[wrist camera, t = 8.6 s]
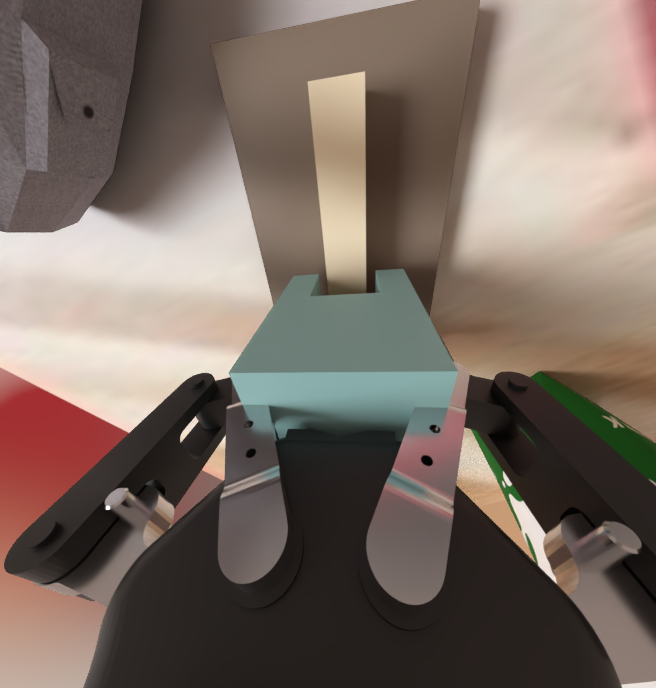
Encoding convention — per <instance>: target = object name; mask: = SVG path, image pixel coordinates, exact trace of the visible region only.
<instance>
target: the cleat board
mask: <svg viewBox="0 0 656 688" xmlns="http://www.w3.org/2000/svg"><path fill="white" fill-rule="evenodd" d="M479 4H480V0H415V1H411V2H406V3H401V4H396V5H392V6H387V7H382V8H378V9H373V10H368V11H364V12H359V13H354V14H349V15H345V16H340V17H335V18H331V19H326V20H321V21H317V22H312V23H307V24H302V25H298V26H293V27H288V28H284V29H279V30H274V31H270V32H265V33H260V34H255V35H251V36H246V37H241V38H237V39H232V40H227V41H223V42H218V43H213V44H210V45H211V49H212V53H213V58H214V62H215V66H216V70H217V74H218V78H219V82H220V86H221V91H222V95H223V99H224V103H225V107H226V111H227V115H228V119H229V123H230V128H231V132H232V136H233V140H234V144H235V148H236V152H237V156H238V161H239V165H240V169H241V173H242V177H243V181H244V185H245V189H246V193H247V198H248V202H249V206H250V210H251V214H252V218H253V222H254V226H255V230H256V235H257V239H258V243H259V247H260V251H261V255H262V259H263V263H264V268H265V272H266V276H267V280H268V284H269V288H270V292H271V296H272V300H273V305H274V304H275V303H276V302H277V300H278V299H279V297H280V296H281V294H282V293H283V291H284V290H285V288H286V287H287V285H288V284H289V282H290V281H291V279H292V278H293V276H298V275H313V274H319V279H320V287H321V296H325V295H344V294H364V293H375V276H376V270H390V269H404V271H405V273H406V275H407V276H408V278H409V280H410V282H411V284H412V286H413V288H414V289H415V291H416V293H417V295H418V297H419V299H420V301H421V303H422V304H423V306H424V308H425V310H426V312H427V314H428V316H430V309H431V303H432V297H433V291H434V284H435V278H436V272H437V266H438V259H439V253H440V247H441V241H442V235H443V228H444V222H445V216H446V210H447V203H448V197H449V191H450V185H451V179H452V172H453V166H454V160H455V154H456V147H457V141H458V135H459V129H460V122H461V116H462V110H463V104H464V98H465V91H466V85H467V79H468V73H469V66H470V60H471V54H472V48H473V42H474V35H475V29H476V23H477V17H478V10H479Z"/></svg>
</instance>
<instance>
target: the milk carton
mask: <svg viewBox="0 0 656 688" xmlns="http://www.w3.org/2000/svg"><path fill="white" fill-rule="evenodd" d="M531 379H533V380H534V381H536V382H537V383H538V384H539V385H540V386H542V387H543V388H544V389H545V390H546V391H547V392H549V393H550V394H551V395H552V396H553V397H554V398H555V399H557V400H558V401H559V402H560V403H561V404H562V405H563V406H565V407H566V408H567V409H568V410H569V411H570V412H572V413H573V414H574V415H575V416H576V417H577V418H578V419H580V420H581V421H582V422H583V423H584V424H585V425H587V426H588V427H589V428H590V429H591V430H592V431H593V432H595V433H596V434H597V435H598V436H599V437H600V438H601V439H603V440H604V441H605V442H606V443H607V444H608V445H610V446H611V447H612V448H613V449H614V450H615V451H616V452H618V453H619V454H620V455H621V456H622V457H623V458H624V459H626V460H627V461H628V462H629V463H630V464H631V465H633V466H634V467H635V468H636V469H637V470H638V471H639V472H641V473H642V474H643V475H644V476H645V477H646V478H647V479H649V480H650V481H651V482H652V483H653V484H654V485H656V443H655V442H654V441H652V440H651V439H649V438H648V437H646V436H645V435H643V434H642V433H640V432H638V431H637V430H635V429H634V428H632V427H631V426H629V425H628V424H626V423H624V422H623V421H621V420H620V419H618V418H617V417H615V416H614V415H612V414H610V413H609V412H607V411H606V410H604V409H603V408H601V407H600V406H598V405H596V404H594V403H593V402H591V401H589V400H588V399H586V398H584V397H583V396H581V395H579V394H578V393H576V392H574V391H572V390H571V389H569V388H567V387H566V386H564V385H562V384H561V383H559V382H557V381H556V380H554V379H552V378H550V377H549V376H547V375H545V374H544V373H542V372H538V373H537V374H535V375H534V376H532V377H531ZM471 430H472V429H471ZM521 430H522V429H521ZM522 431H523V430H522ZM472 432H473V434H474V436H475V438H476V440H477V442H478V444H479V446H480V448H481V450H482V452H483V454H484V456H485V458H486V460H487V462H488V464H489V466H490V468H491V470H492V472H493V474H494V476H495V478H496V480H497V482H498V484H499V486H500V488H501V490H502V492H503V494H504V496H505V498H506V500H507V502H508V504H509V507H510V509H511V511H512V513H513V515H514V517H515V519H516V521H517V524H518V525H519V528H520V530H521V532H522V534H523V536H524V538H525V540H526V542H527V545H528V546H529V549H530V551H531V553H532V555H533V557H534V560H535V561H536V564H537V565H538V566H539V567H540V568H541V569H542V570H543V571H544V572H545V573H546V574H547V575H548V576H549V577H550V578H551V579H552V580H553V581H554V582H555V583H556V584H557V582H556V577H555V576H554V574H553V572H552V571H551V568H550V564H549V562H548V560H547V558H546V555H545V552H544V547H543V541H544V537H545V535H546V534H545V532H544V531H543V529H542V528H541V526H540V525H539V523H538V522H537V520H536V519H535V517H534V516H533V515H532V513H531V512H530V510H529V509H528V507H527V506H526V504H525V503H524V501H523V500H522V498H521V497H520V495H519V494H518V492H517V491H516V489H515V488H514V486H513V485H512V483H511V482H510V480H509V479H508V477H507V476H506V474H505V473H504V471H503V470H502V468H501V467H500V465H499V464H498V462H497V461H496V459H495V458H494V457H493V455H492V454H491V452H490V451H489V449H488V448H487V446H486V445H485V443H484V442H483V440H482V439H481V437H480V436H479V434H478V433H477V431H476V430H472ZM523 432H524V431H523ZM524 433H525V432H524ZM525 435H526V436H527V437H528V438H529V436H528V435H527V434H526V433H525ZM529 439H530V438H529ZM530 440H531V439H530ZM531 442H532V443H533V444H534V442H533V441H532V440H531ZM534 445H535V444H534ZM622 688H656V681H653V682H643V683H633V684H623V685H622Z"/></svg>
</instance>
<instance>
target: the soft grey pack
mask: <svg viewBox="0 0 656 688" xmlns="http://www.w3.org/2000/svg"><path fill="white" fill-rule="evenodd" d="M141 6H142V0H0V231H3V232H54V231H57V230H59V229H62V228H65V227H67V226H70V225H72V224H75V223H77V222H78V221H79V220H80V218H81V217H82V216H83V214H84V213H85V211H86V210H87V209H88V207H89V206H90V204H91V203H92V202H93V200H94V199H95V197H96V196H97V195H98V193H99V192H100V190H101V189H102V188H103V186H104V185H105V183H106V182H107V180H108V179H109V178H110V176H111V175H112V173H113V170H114V165H115V160H116V155H117V150H118V145H119V140H120V135H121V130H122V125H123V120H124V115H125V110H126V105H127V99H128V94H129V89H130V84H131V79H132V74H133V67H134V59H135V52H136V44H137V36H138V29H139V21H140V14H141Z"/></svg>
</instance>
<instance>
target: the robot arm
mask: <svg viewBox="0 0 656 688" xmlns="http://www.w3.org/2000/svg"><path fill="white" fill-rule="evenodd" d="M438 334H439V333H438ZM439 336H440V335H439ZM440 338H441V337H440ZM441 340H442V338H441ZM442 342H443V340H442ZM443 344H444V342H443ZM444 346H445V344H444ZM445 347H446V346H445ZM446 349H447V348H446ZM447 351H448V349H447ZM448 353H449V351H448ZM449 355H450V353H449ZM450 357H451V355H450ZM451 359H452V357H451ZM452 360H453V359H452ZM453 362H454V360H453ZM454 364H455V366H456V368H457V370H458V375H457V378H456V382H455V385H454V389H453V393H452V396H451V400H450V403H449V407H448V408H436V407H414V410H413V413H412V416H411V418H410V421H409V424H408V427H407V430H406V432H405V435H404V438H403V441H402V442H400V441H396V436H395V432H390V431H364V432H359V433H354V434H350V435H345V436H335V435H331V434H328V433H324V432H320V431H317V430H313V429H288V430H287V433H286V437H284V438H281V439H279V437H278V434H277V432H276V429H275V422H274V420H273V417H272V414H271V411H270V408H269V405H242V403H241V400H240V398H239V396H238V393H237V391H236V389H235V387H234V384H233V382H232V380H231V377H230V378H226V379H222V380H217V381H215V379H214V377H213V375H211V374H209V373H201V374H197V375H194V376H192V377H190V378H189V379H187V380H186V381H185V382H183V383H182V384H181V385H180V386H179V387H178V388H177V389H176V390H175V391H174V392H173V393H172V394H171V395H170V396H168V397H167V398H166V399H165V400H164V401H163V402H162V403H161V404H160V405H159V406H158V407H157V408H156V409H155V410H154V411H152V412H151V413H150V414H149V415H148V416H147V417H146V418H145V419H144V420H143V421H142V422H141V423H140V424H139V425H137V426H136V427H135V428H134V429H133V430H132V431H131V432H130V433H129V434H128V435H127V436H126V437H125V438H124V439H123V440H122V441H120V442H119V443H118V444H117V445H116V446H115V447H114V448H113V449H112V450H111V451H110V452H109V453H108V454H107V455H105V456H104V457H103V458H102V459H101V460H100V461H99V462H98V463H97V464H96V465H95V466H94V467H93V468H92V469H91V470H90V471H89V472H87V473H86V474H85V475H84V476H83V477H82V478H81V479H80V480H79V481H78V482H77V483H76V484H75V485H73V486H72V487H71V488H70V489H69V490H68V491H67V492H66V493H65V494H64V495H63V496H62V497H61V498H60V499H58V500H57V502H55V503H54V504H53V505H52V506H51V507H50V508H49V509H48V510H47V511H46V512H45V513H44V514H42V515H41V516H40V517H39V518H38V519H37V520H36V521H35V522H34V523H33V524H32V525H31V526H30V527H29V528H28V529H27V530H25V532H23V533H22V535H21V536H20V537H19V538H18V539H17V540H16V542H15V543H14V544H13V546H12V547H11V549H10V550H9V552H8V554H7V556H6V559H5V563H4V567H5V570H6V572H8V573H10V574H13V575H15V576H18V577H22V578H24V579H28V580H30V581H33V583H34V584H35V585H37V586H40V587H43V588H46V589H49V590H52V591H55V592H59V593H61V594H64V595H67V596H78V597H81V598H84V599H87V600H90V601H97V602H99V603H101V604H103V605H105V606H107V610H106V612H105V616H104V618H103V621H102V625H101V629H100V633H99V638H98V641H97V646H96V650H95V654H94V657H93V660H92V664H91V667H90V670H89V673H88V676H87V679H86V682H85V685H84V687H83V688H622V685H623V684H633V683H643V682H653V681H656V485H654V484H653V483H652V482H651V481H650V480H649V479H647V478H646V477H645V476H644V475H643V474H642V473H641V472H639V471H638V470H637V469H636V468H635V467H634V466H633V465H631V464H630V463H629V462H628V461H627V460H626V459H624V458H623V457H622V456H621V455H620V454H619V453H618V452H616V451H615V450H614V449H613V448H612V447H611V446H610V445H608V444H607V443H606V442H605V441H604V440H603V439H601V438H600V437H599V436H598V435H597V434H596V433H595V432H593V431H592V430H591V429H590V428H589V427H588V426H587V425H585V424H584V423H583V422H582V421H581V420H580V419H578V418H577V417H576V416H575V415H574V414H573V413H572V412H570V411H569V410H568V409H567V408H566V407H565V406H563V405H562V404H561V403H560V402H559V401H558V400H557V399H555V398H554V397H553V396H552V395H551V394H550V393H549V392H547V391H546V390H545V389H544V388H543V387H542V386H540V385H539V384H538V383H537V382H536V381H534V380H533V379H531V378H530V377H528V376H525V375H523V374H520V373H516V372H501V373H498V374H497V375H496V376H495V378H494V380H490V379H485V378H480V377H475V376H472V375H470V374H469V371H468V370H467V369H466V368H465V367H464V366H463V365H461V364H459V363H457V362H454ZM195 416H196V418H197V419H198V421H199V422H198V423H197V424H196V425H195V427H194V428H193V429H192V430H191V431H190V433H189V434H188V435H187V436H186V437H185V439H184V440H183V441H182V442H181V443H180V436H181V433H182V431H183V430H184V429H185V428H186V426H187V425H188V424H189V423H190V422H191V421H192V420H193V418H194V417H195ZM464 427H465V428H469V429H472V430H476V431H477V433H478V434H479V436H480V437H481V439H482V440H483V442H484V443H485V445H486V446H487V448H488V449H489V451H490V452H491V454H492V455H493V457H494V458H495V459H496V461H497V462H498V464H499V465H500V467H501V468H502V470H503V471H504V473H505V474H506V476H507V477H508V479H509V480H510V482H511V483H512V485H513V486H514V488H515V489H516V491H517V492H518V494H519V495H520V497H521V498H522V500H523V501H524V503H525V504H526V506H527V507H528V509H529V510H530V512H531V513H532V515H533V516H534V517H535V519H536V520H537V522H538V523H539V525H540V526H541V528H542V529H543V531H544V532H545V534H546V535H545V537H544V541H543V547H544V552H545V555H546V558H547V560H548V562H549V564H550V568H551V571H552V572H553V574H554V576H555V577H556V582H557V584H556V583H555V582H554V581H553V580H552V579H551V578H550V577H549V576H548V575H547V574H546V573H545V572H544V571H543V570H542V569H541V568H540V567H539V566H538V565H537V564H536V563H535V562H534V561H533V560H532V559H531V558H530V557H529V556H528V555H527V554H526V553H525V552H524V551H523V550H522V549H521V548H520V547H519V546H518V545H517V544H516V543H515V542H514V541H513V540H511V538H510V537H508V536H507V535H506V534H505V533H504V532H503V531H502V530H501V529H500V528H499V527H498V526H497V525H496V524H495V523H494V522H493V521H492V520H491V519H490V518H489V517H488V516H487V515H486V514H485V513H484V512H483V511H482V510H481V509H480V508H479V507H478V506H477V505H476V504H475V503H474V502H473V501H472V500H471V499H470V498H469V497H468V496H467V495H466V494H465V493H464V492H463V491H462V490H461V489H460V488H459V487H457V486H456V481H457V474H458V467H459V460H460V453H461V446H462V439H463V432H464ZM521 429H522V430H523V431H524V432H525V433H526V434H527V435H528V436H529V438H530V439H531V440H532V441H533V442H534V444H535V445H534V444H533V443H532V442H531V440H530V439H529V438H528V437H527V436H526V435H525V433H524V432H523V431H522V430H521ZM225 435H226V449H225V480H224V481H223V482H222V483H220V484H219V485H218V486H217V487H216V488H215V489H214V490H212V491H211V492H210V493H209V494H208V495H207V496H206V497H205V498H204V499H202V500H201V501H200V502H199V503H198V504H197V505H196V506H194V507H193V508H192V509H191V510H190V511H189V512H188V513H186V514H185V515H184V516H183V517H182V518H181V519H179V520H178V521H177V522H176V523H175V524H174V525H173V526H171V522H172V520H173V517H174V509H175V508H176V506H177V505H178V503H179V502H180V500H181V499H182V497H183V496H184V494H185V493H186V492H187V490H188V489H189V487H190V486H191V484H192V483H193V481H194V480H195V478H196V477H197V476H198V474H199V473H200V471H201V470H202V468H203V467H204V465H205V464H206V462H207V461H208V460H209V458H210V457H211V455H212V454H213V452H214V451H215V449H216V448H217V447H218V445H219V444H220V442H221V441H222V439H223V438H224V436H225Z"/></svg>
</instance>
